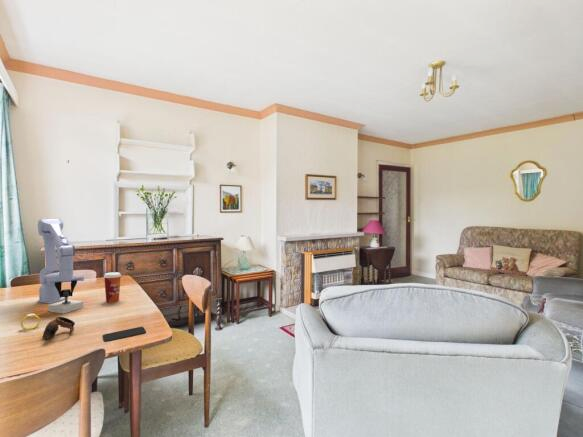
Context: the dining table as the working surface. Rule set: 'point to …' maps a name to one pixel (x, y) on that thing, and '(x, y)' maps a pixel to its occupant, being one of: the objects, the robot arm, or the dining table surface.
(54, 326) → the brown curved piece
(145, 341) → the dining table surface
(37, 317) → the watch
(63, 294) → the plunger
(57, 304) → the block
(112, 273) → the coffee cup
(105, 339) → the phone
